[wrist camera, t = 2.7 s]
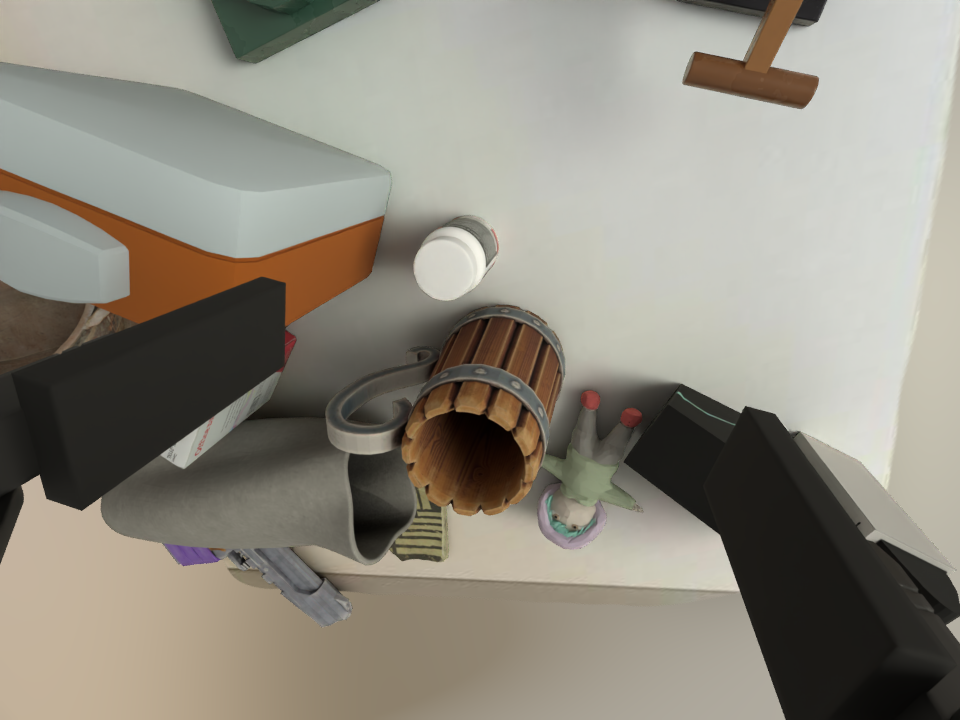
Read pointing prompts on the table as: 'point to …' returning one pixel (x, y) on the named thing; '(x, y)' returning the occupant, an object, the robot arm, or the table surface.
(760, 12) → the bracket
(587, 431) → the toy
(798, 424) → the table surface
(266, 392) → the ink box
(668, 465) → the decorative object
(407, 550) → the pottery shard
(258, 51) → the button box
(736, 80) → the lever
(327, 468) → the vase
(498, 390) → the mug
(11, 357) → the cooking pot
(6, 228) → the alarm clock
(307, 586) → the handgun
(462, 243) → the pill bottle
